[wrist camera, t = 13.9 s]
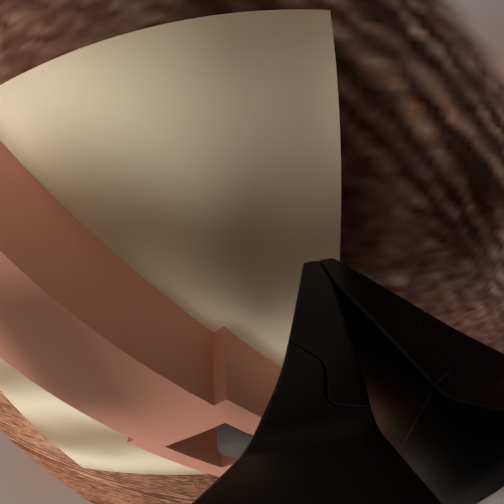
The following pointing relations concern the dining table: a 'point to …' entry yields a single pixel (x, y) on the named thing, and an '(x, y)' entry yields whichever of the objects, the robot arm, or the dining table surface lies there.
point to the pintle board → (188, 182)
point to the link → (116, 336)
